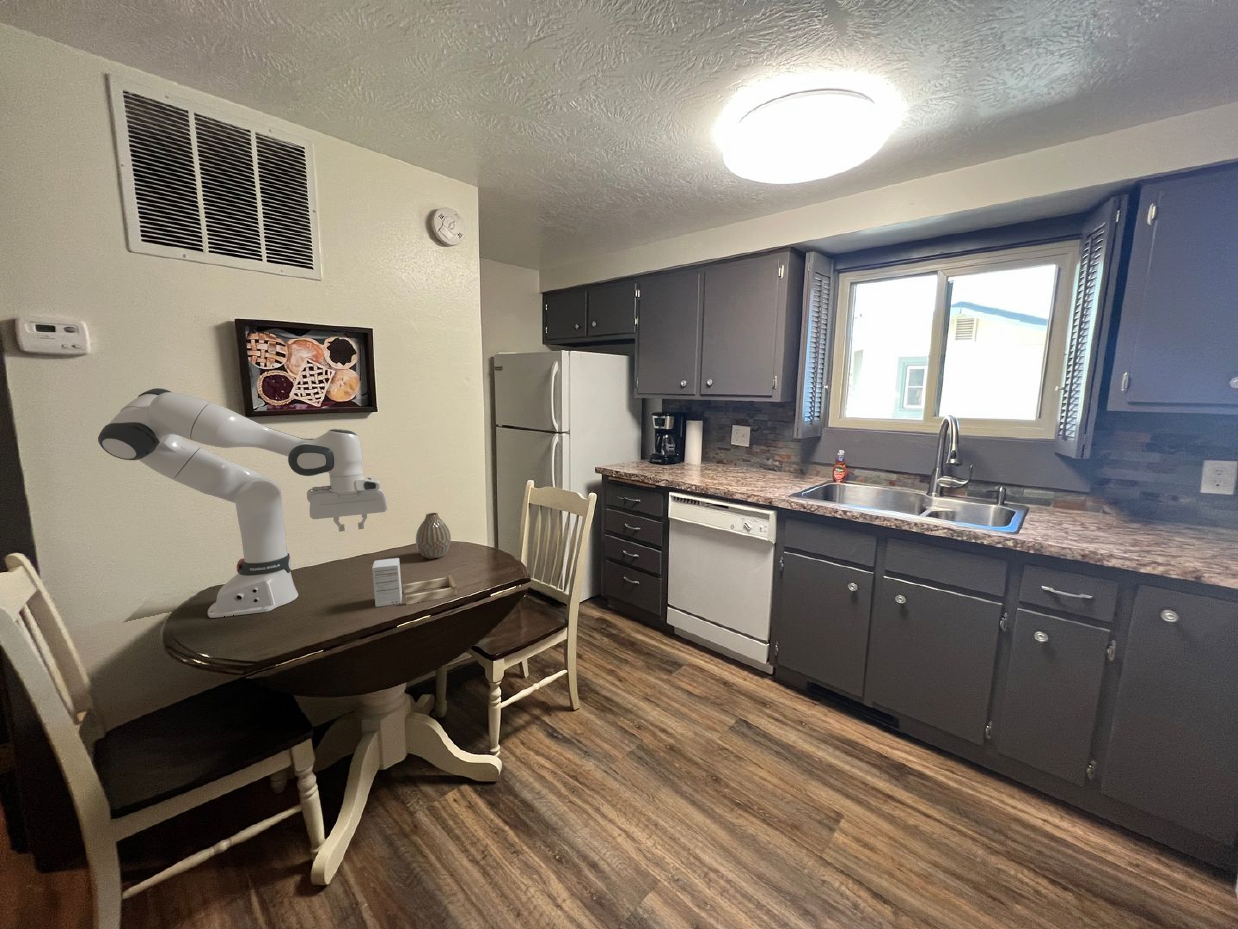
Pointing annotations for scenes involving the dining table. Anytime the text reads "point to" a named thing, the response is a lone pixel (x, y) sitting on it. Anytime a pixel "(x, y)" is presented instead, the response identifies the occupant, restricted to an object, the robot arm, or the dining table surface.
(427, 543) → the vase
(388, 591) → the supplement box
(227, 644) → the dining table surface
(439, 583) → the u rest
